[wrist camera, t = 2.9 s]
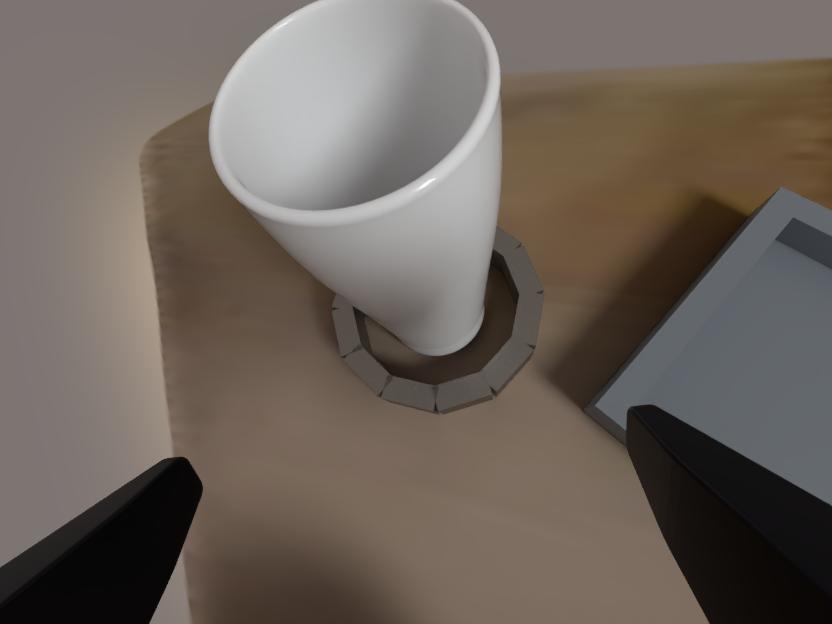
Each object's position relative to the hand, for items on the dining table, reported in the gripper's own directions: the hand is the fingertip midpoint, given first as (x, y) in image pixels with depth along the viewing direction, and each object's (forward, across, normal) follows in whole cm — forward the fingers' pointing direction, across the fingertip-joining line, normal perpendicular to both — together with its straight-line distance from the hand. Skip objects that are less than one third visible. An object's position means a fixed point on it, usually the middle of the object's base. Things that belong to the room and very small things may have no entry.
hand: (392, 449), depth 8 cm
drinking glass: (+14, 0, +4) cm, 15 cm away
